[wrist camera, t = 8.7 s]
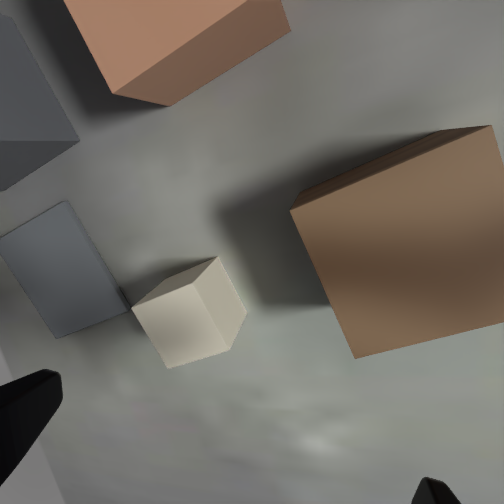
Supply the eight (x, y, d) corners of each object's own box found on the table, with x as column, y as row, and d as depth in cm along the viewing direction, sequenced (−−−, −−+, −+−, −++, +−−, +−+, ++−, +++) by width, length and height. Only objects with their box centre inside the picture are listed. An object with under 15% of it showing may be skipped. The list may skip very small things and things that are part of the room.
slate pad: (-2, 240, 23) (-8, 242, 22) (67, 200, 21) (62, 201, 20) (60, 336, 24) (56, 339, 24) (131, 308, 22) (127, 311, 22)
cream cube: (164, 279, 21) (129, 308, 17) (218, 256, 20) (192, 283, 16) (193, 330, 22) (166, 369, 18) (247, 312, 20) (229, 349, 17)
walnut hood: (300, 192, 17) (289, 210, 13) (441, 130, 15) (491, 125, 10) (348, 305, 19) (354, 358, 14) (484, 263, 16) (545, 311, 12)
